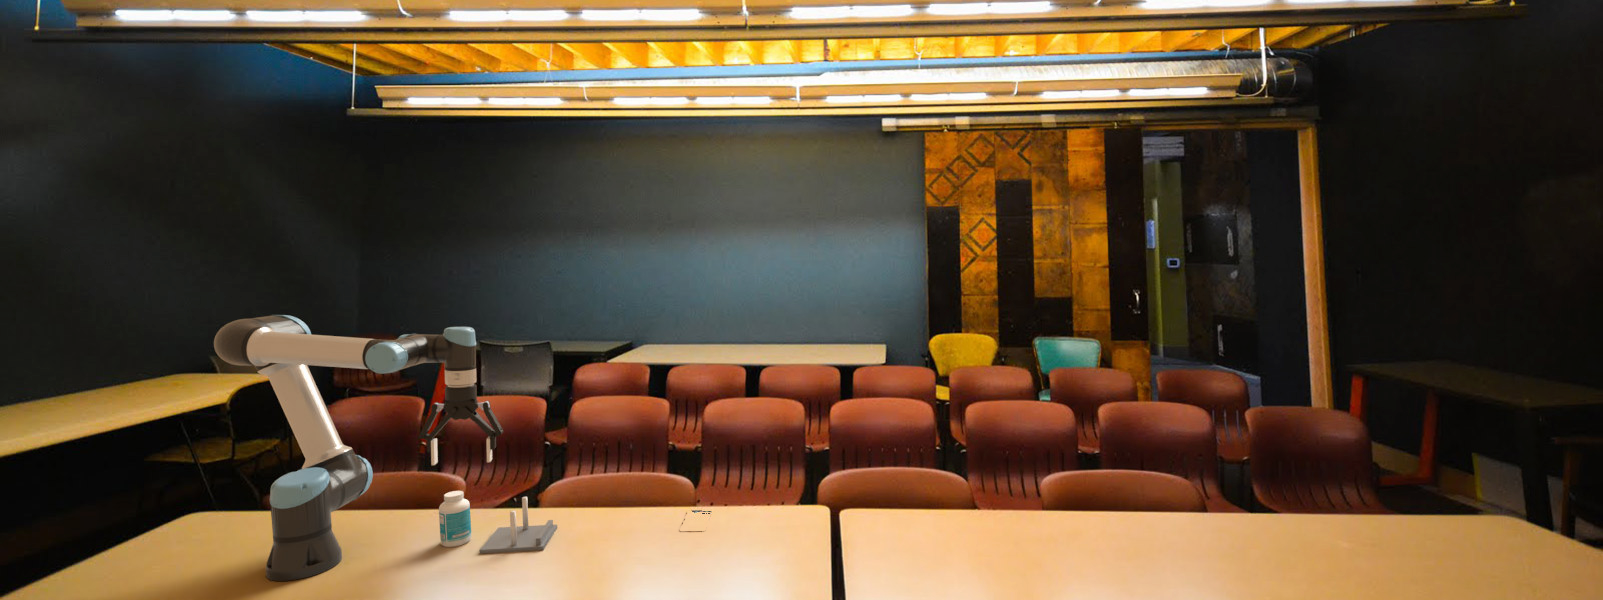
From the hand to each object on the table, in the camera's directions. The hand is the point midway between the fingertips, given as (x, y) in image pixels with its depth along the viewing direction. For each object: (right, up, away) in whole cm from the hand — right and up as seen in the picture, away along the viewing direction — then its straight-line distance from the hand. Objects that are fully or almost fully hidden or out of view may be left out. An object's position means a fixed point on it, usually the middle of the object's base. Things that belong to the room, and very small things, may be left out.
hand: (462, 462), depth 175 cm
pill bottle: (-2, -22, +1) cm, 22 cm away
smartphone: (+61, -21, +14) cm, 66 cm away
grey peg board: (+15, -22, +1) cm, 26 cm away
